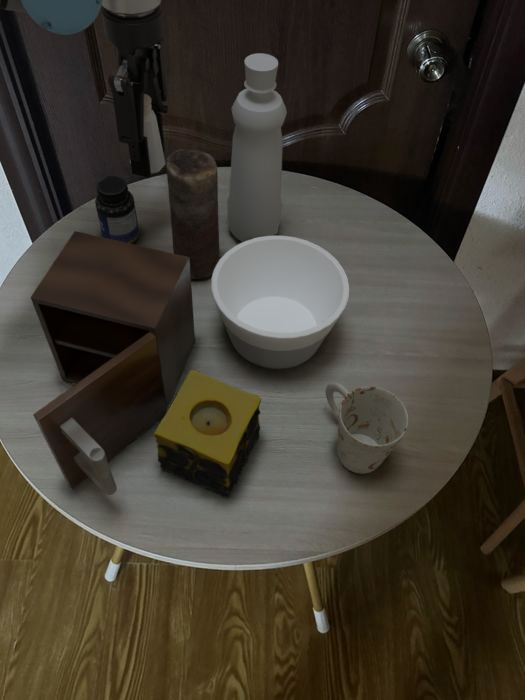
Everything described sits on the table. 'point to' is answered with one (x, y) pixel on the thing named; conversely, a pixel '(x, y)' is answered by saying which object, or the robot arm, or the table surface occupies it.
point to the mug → (367, 425)
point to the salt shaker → (152, 137)
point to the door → (104, 414)
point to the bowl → (279, 298)
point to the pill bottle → (116, 210)
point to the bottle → (256, 152)
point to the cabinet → (115, 306)
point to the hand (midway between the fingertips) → (148, 162)
